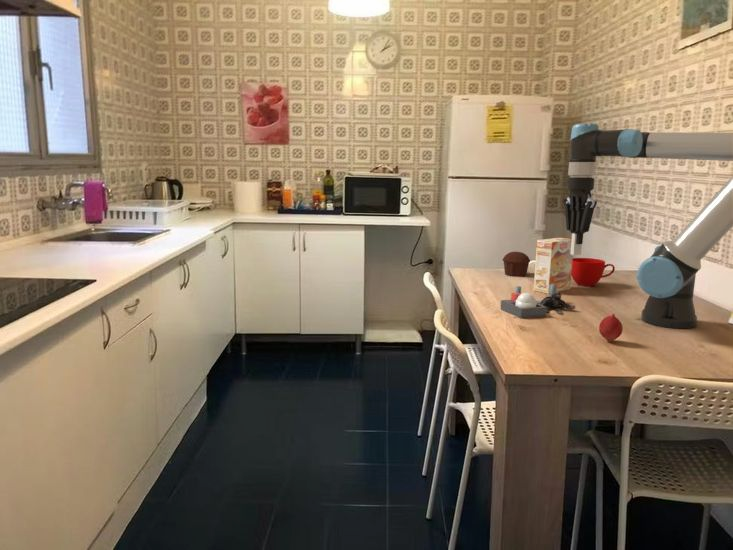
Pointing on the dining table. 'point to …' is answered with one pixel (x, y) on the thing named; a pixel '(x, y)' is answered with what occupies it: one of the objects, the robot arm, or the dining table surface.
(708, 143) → the robot arm
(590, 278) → the ceramic cup
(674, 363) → the dining table surface
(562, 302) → the stuffed animal
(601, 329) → the onion
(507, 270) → the muffin
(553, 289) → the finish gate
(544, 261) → the coffeecake box
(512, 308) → the dome base
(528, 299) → the dome
